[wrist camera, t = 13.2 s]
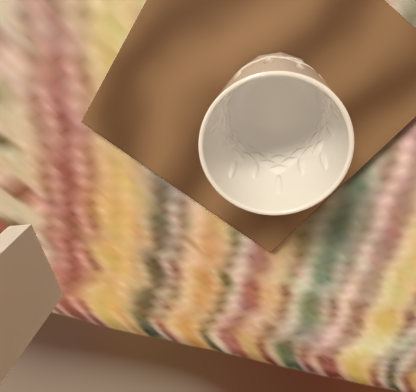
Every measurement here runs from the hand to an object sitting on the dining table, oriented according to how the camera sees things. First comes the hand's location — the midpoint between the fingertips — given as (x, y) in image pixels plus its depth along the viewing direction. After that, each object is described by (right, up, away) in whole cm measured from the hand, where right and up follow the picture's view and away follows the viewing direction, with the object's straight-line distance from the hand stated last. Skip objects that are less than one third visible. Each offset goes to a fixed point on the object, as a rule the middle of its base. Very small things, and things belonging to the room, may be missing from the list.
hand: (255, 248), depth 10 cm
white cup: (+4, +9, +18) cm, 20 cm away
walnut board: (+2, +9, +19) cm, 21 cm away
